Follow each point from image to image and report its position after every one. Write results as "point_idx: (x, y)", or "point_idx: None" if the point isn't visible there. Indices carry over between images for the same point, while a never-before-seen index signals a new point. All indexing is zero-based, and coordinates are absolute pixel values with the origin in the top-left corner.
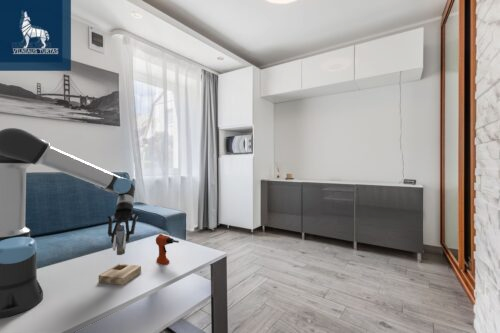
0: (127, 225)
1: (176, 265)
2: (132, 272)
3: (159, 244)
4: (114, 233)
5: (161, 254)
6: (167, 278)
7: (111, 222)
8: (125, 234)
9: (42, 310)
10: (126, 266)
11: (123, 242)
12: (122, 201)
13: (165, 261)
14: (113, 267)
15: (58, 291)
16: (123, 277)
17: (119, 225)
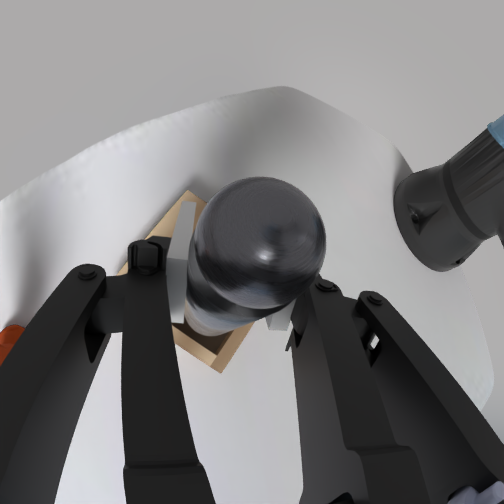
0: (140, 362)
1: None
2: (147, 237)
3: None
4: (314, 287)
5: (5, 348)
6: (40, 189)
7: (454, 422)
8: (175, 252)
9: (369, 168)
10: (177, 329)
11: (193, 216)
12: None
13: (9, 329)
14: (241, 330)
15: (382, 255)
16: (185, 192)
17: (289, 193)
